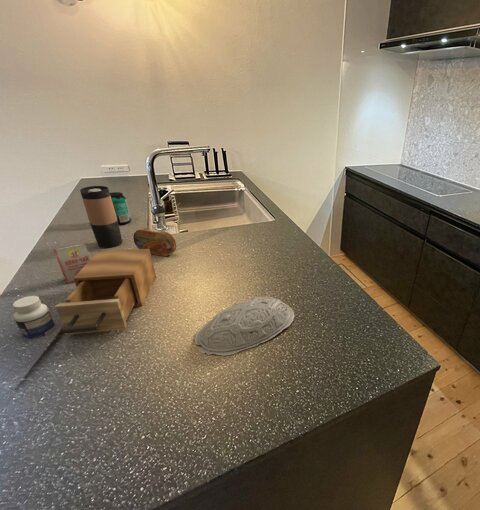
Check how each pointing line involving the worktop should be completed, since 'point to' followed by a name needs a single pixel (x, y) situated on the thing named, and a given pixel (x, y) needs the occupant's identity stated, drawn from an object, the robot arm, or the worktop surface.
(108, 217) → the travel mug
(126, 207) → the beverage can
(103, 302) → the drawer
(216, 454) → the worktop surface
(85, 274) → the cabinet
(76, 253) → the white cardboard box
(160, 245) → the tin
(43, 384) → the worktop surface
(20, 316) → the pill bottle
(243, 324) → the turtle shell
